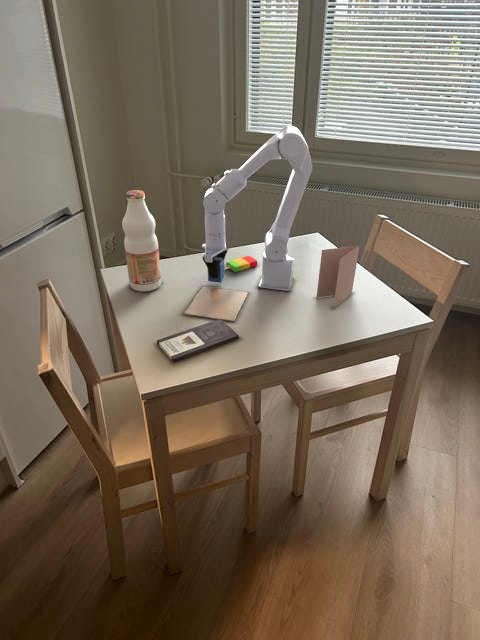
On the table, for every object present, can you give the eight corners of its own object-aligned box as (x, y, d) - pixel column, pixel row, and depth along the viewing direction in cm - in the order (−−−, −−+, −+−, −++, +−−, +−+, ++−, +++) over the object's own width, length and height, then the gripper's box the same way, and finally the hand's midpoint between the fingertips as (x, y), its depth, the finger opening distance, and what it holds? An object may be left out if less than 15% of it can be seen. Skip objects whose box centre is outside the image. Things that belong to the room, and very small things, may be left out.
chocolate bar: (238, 335, 113) (173, 359, 105) (238, 338, 113) (173, 362, 105) (219, 318, 119) (156, 340, 111) (220, 321, 120) (157, 343, 111)
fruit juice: (123, 288, 135) (109, 194, 120) (142, 275, 142) (131, 185, 127) (149, 295, 132) (139, 199, 117) (167, 281, 139) (159, 190, 124)
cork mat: (248, 293, 133) (248, 292, 133) (234, 321, 120) (234, 320, 120) (202, 287, 136) (202, 286, 136) (184, 314, 123) (184, 313, 123)
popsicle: (258, 265, 149) (258, 260, 148) (219, 277, 142) (219, 271, 141) (249, 259, 153) (249, 254, 152) (210, 270, 145) (210, 265, 144)
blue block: (224, 276, 139) (224, 259, 136) (220, 282, 136) (220, 264, 133) (212, 275, 140) (211, 257, 137) (208, 281, 137) (207, 263, 134)
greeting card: (350, 291, 135) (358, 244, 127) (363, 303, 129) (371, 254, 121) (315, 296, 132) (320, 248, 124) (326, 309, 126) (332, 259, 118)
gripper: (209, 221, 137) (210, 262, 144) (193, 239, 125) (195, 283, 132) (232, 223, 135) (232, 265, 142) (218, 242, 123) (219, 286, 131)
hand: (216, 274), depth 137 cm, fingers closed on blue block, 4 cm apart
